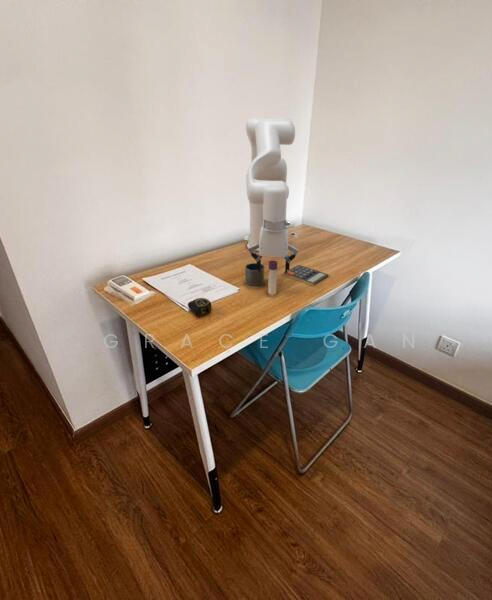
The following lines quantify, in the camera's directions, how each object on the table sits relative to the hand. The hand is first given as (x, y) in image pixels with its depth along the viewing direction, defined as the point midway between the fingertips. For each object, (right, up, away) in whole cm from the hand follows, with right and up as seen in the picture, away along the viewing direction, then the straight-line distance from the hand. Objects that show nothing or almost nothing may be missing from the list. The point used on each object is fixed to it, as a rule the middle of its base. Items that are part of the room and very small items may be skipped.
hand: (272, 271), depth 116 cm
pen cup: (-7, -4, +11) cm, 14 cm away
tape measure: (-25, -15, -8) cm, 30 cm away
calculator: (+14, 0, +20) cm, 24 cm away
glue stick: (0, -8, +4) cm, 10 cm away
